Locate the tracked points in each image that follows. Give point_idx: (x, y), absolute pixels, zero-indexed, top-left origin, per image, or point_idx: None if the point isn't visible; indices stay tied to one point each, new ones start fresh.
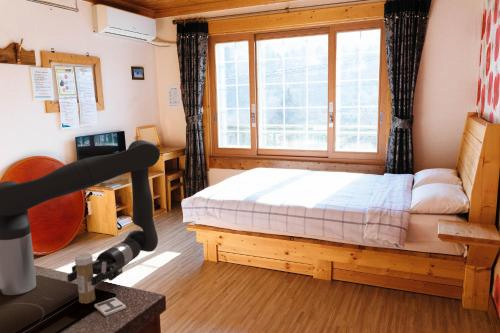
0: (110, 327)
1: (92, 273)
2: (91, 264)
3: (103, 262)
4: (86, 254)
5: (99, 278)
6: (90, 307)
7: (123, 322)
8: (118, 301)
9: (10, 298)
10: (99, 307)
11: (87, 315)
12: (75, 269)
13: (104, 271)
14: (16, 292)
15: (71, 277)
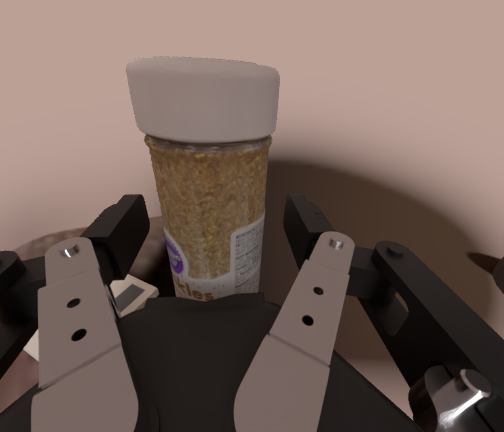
0: (63, 232)
1: (164, 221)
2: (149, 147)
3: (101, 389)
4: (207, 60)
5: (99, 220)
6: (173, 286)
7: (17, 253)
8: (33, 342)
9: (472, 257)
10: (126, 279)
11: (158, 252)
12: (339, 235)
13: (57, 247)
14: (498, 265)
15: (288, 214)
